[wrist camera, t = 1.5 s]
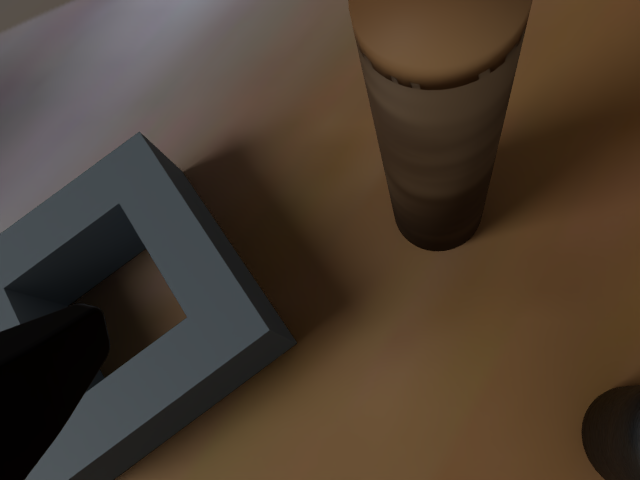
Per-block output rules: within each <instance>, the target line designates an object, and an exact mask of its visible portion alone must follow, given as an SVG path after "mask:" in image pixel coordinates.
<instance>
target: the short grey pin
mask: <svg viewBox="0 0 640 480" xmlns="http://www.w3.org/2000/svg"><path fill="white" fill-rule="evenodd" d="M582 441H583V446H584V449H585V452H586V455H587V457H588V459H589V461H590V462H591V464H592V466H593V467H594V468H595V470H596V471H597V472H598V473H599V474H600V475H601V476H602V477H603V478H604V479H605V480H640V385H634V386H626V387H619V388H615V389H611V390H609V391H607V392H604V393H603V394H601V395H600V396H598V397H597V398H596V399H595V400H594V401H593V402H592V403H591V405H590V406H589V408H588V409H587V411H586V413H585V416H584V419H583V423H582Z"/></svg>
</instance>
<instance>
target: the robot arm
mask: <svg viewBox="0 0 640 480" xmlns="http://www.w3.org/2000/svg"><path fill="white" fill-rule="evenodd" d="M109 350H110V341H109V336H108V331H107V326H106V322H105V317H104V313H103V312H102V310H101V309H100V308H98V307H95V306H91V305H86V304H80V303H79V304H74V305H72V306H69V307H66V308H64V309H61V310H58V311H55V312H53V313H50V314H47V315H44V316H42V317H39V318H36V319H33V320H31V321H28V322H25V323H22V324H20V325H17V326H14V327H12V328H9V329H6V330H3V331H1V332H0V480H25V479H26V477H27V476H28V475H29V473H30V472H31V471H32V469H33V468H34V467H35V465H36V464H37V463H38V461H39V460H40V459H41V458H42V456H43V455H44V454H45V452H46V451H47V450H48V448H49V447H50V446H51V444H52V443H53V442H54V440H55V439H56V437H57V436H58V435H59V433H60V432H61V430H62V429H63V427H64V426H65V424H66V423H67V421H68V420H69V418H70V417H71V415H72V413H73V412H74V410H75V409H76V407H77V405H78V404H79V402H80V400H81V399H82V397H83V396H84V394H85V392H86V391H87V389H88V387H89V386H90V384H91V383H92V381H93V379H94V378H95V376H96V374H97V373H98V371H99V370H100V368H101V366H102V365H103V363H104V361H105V360H106V358H107V356H108V353H109Z"/></svg>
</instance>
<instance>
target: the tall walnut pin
mask: <svg viewBox="0 0 640 480" xmlns="http://www.w3.org/2000/svg"><path fill="white" fill-rule="evenodd" d="M348 1H349V11H350V16H351V20H352V25H353V29H354V34H355V38H356V43H357V47H358V52H359V57H360V61H361V66H362V70H363V75H364V79H365V84H366V88H367V93H368V98H369V102H370V107H371V111H372V116H373V120H374V125H375V129H376V134H377V139H378V143H379V148H380V152H381V157H382V161H383V166H384V170H385V175H386V180H387V184H388V189H389V193H390V198H391V202H392V207H393V211H394V216H395V221H396V224H397V226H398V228H399V230H400V232H401V233H402V235H403V236H404V237H405V238H406V239H407V240H408V241H409V242H411V243H412V244H414V245H415V246H417V247H420V248H422V249H425V250H430V251H445V250H450V249H453V248H456V247H458V246H460V245H462V244H463V243H465V242H466V241H467V240H468V239H470V238H471V236H472V235H473V234H474V233H475V231H476V230H477V228H478V226H479V223H480V220H481V217H482V212H483V208H484V204H485V200H486V195H487V191H488V187H489V183H490V178H491V174H492V170H493V166H494V161H495V157H496V153H497V149H498V144H499V140H500V136H501V132H502V127H503V123H504V119H505V115H506V110H507V106H508V102H509V97H510V93H511V89H512V85H513V80H514V76H515V72H516V68H517V63H518V59H519V55H520V51H521V46H522V42H523V38H524V34H525V29H526V25H527V21H528V17H529V12H530V8H531V4H532V0H348Z"/></svg>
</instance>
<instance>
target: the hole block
mask: <svg viewBox="0 0 640 480" xmlns="http://www.w3.org/2000/svg"><path fill="white" fill-rule="evenodd" d="M144 249H147V251H148V252H149V254H150V256H151V257H152V259H153V261H154V262H155V264H156V266H157V267H158V269H159V271H160V272H161V274H162V276H163V277H164V279H165V281H166V282H167V284H168V286H169V287H170V289H171V291H172V292H173V294H174V296H175V297H176V299H177V301H178V302H179V304H180V306H181V307H182V309H183V311H184V313H185V314H186V316H187V318H186V319H184V320H183V321H182V322H180V323H179V324H178V325H176V326H175V327H173V328H172V329H171V330H169V331H168V332H167V333H165V334H164V335H163V336H161V337H160V338H159V339H157V340H156V341H155V342H153V343H152V344H151V345H149V346H148V347H146V348H145V349H144V350H142V351H141V352H140V353H138V354H137V355H136V356H134V357H133V358H132V359H130V360H129V361H128V362H126V363H125V364H124V365H122V366H121V367H119V368H118V369H117V370H115V371H114V372H113V373H111V374H110V375H109V376H107V377H106V378H104V376H103V374H102V372H101V370H99V371H98V373H97V374H96V376H95V378H94V379H93V381H92V383H91V384H90V386H89V387H88V389H87V391H86V392H85V394H84V396H83V397H82V399H81V400H80V402H79V404H78V405H77V407H76V409H75V410H74V412H73V413H72V415H71V417H70V418H69V420H68V421H67V423H66V424H65V426H64V427H63V429H62V430H61V432H60V433H59V435H58V436H57V437H56V439H55V440H54V442H53V443H52V444H51V446H50V447H49V448H48V450H47V451H46V452H45V454H44V455H43V456H42V458H41V459H40V460H39V461H38V463H37V464H36V465H35V467H34V468H33V469H32V471H31V472H30V473H29V475H28V476H27V477H26V479H25V480H114V479H115V478H116V477H118V476H119V475H120V474H122V473H123V472H125V471H126V470H127V469H129V468H130V467H131V466H133V465H134V464H135V463H137V462H138V461H139V460H141V459H142V458H143V457H145V456H146V455H147V454H149V453H150V452H151V451H153V450H154V449H155V448H157V447H158V446H159V445H161V444H162V443H164V442H165V441H166V440H168V439H169V438H170V437H172V436H173V435H174V434H176V433H177V432H178V431H180V430H181V429H182V428H184V427H185V426H186V425H188V424H189V423H190V422H192V421H193V420H194V419H196V418H197V417H198V416H200V415H201V414H203V413H204V412H205V411H207V410H208V409H209V408H211V407H212V406H213V405H215V404H216V403H217V402H219V401H220V400H221V399H223V398H224V397H225V396H227V395H228V394H229V393H231V392H232V391H233V390H235V389H236V388H237V387H239V386H240V385H242V384H243V383H244V382H246V381H247V380H248V379H250V378H251V377H252V376H254V375H255V374H256V373H258V372H259V371H260V370H262V369H263V368H264V367H266V366H267V365H268V364H270V363H271V362H272V361H274V360H275V359H276V358H278V357H279V356H281V355H282V354H283V353H285V352H286V351H287V350H289V349H290V348H291V347H293V346H294V345H295V344H297V342H296V341H295V339H294V338H293V336H292V335H291V333H290V332H289V330H288V329H287V327H286V326H285V324H284V323H283V321H282V320H281V318H280V317H279V315H278V314H277V312H276V311H275V309H274V308H273V306H272V305H271V303H270V302H269V300H268V299H267V297H266V296H265V294H264V293H263V291H262V290H261V288H260V287H259V285H258V284H257V282H256V281H255V279H254V278H253V276H252V275H251V273H250V272H249V270H248V269H247V267H246V266H245V264H244V263H243V261H242V260H241V258H240V257H239V256H238V254H237V253H236V251H235V250H234V248H233V247H232V245H231V244H230V242H229V241H228V239H227V238H226V236H225V235H224V233H223V232H222V230H221V229H220V227H219V226H218V224H217V223H216V221H215V220H214V218H213V217H212V215H211V214H210V212H209V211H208V209H207V208H206V206H205V205H204V203H203V202H202V200H201V199H200V197H199V196H198V194H197V193H196V191H195V190H194V188H193V187H192V185H191V184H190V182H189V181H188V179H187V178H186V176H185V175H184V173H183V172H182V171H181V170H180V169H179V168H178V167H177V166H176V165H175V164H174V163H173V162H171V161H170V160H169V159H168V158H167V157H166V156H165V155H164V154H163V153H162V152H161V151H160V150H159V149H158V148H156V147H155V146H154V145H153V144H152V143H151V142H150V141H149V140H148V139H147V138H146V137H145V136H144V135H142V134H141V133H140V132H138V133H137V134H135V135H134V136H133V137H131V138H130V139H129V140H127V141H126V142H125V143H123V144H122V145H120V146H119V147H118V148H116V149H115V150H114V151H112V152H111V153H110V154H108V155H107V156H105V157H104V158H103V159H101V160H100V161H99V162H97V163H96V164H95V165H93V166H92V167H91V168H89V169H88V170H86V171H85V172H84V173H82V174H81V175H80V176H78V177H77V178H76V179H74V180H73V181H71V182H70V183H69V184H67V185H66V186H65V187H63V188H62V189H61V190H59V191H58V192H56V193H55V194H54V195H52V196H51V197H50V198H48V199H47V200H46V201H44V202H43V203H42V204H40V205H39V206H37V207H36V208H35V209H33V210H32V211H31V212H29V213H28V214H27V215H25V216H24V217H22V218H21V219H20V220H18V221H17V222H16V223H14V224H13V225H12V226H10V227H9V228H7V229H6V230H5V231H3V232H2V233H1V234H0V332H1V331H3V330H6V329H9V328H12V327H14V326H17V325H20V324H22V323H25V322H28V321H31V320H33V319H36V318H39V317H42V316H44V315H47V314H50V313H53V312H55V311H58V310H61V309H64V308H66V307H68V306H69V305H70V304H71V303H73V302H74V301H75V300H77V299H78V298H79V297H81V296H82V295H83V294H85V293H86V292H88V291H89V290H90V289H92V288H93V287H94V286H96V285H97V284H98V283H100V282H101V281H102V280H104V279H105V278H106V277H108V276H109V275H111V274H112V273H113V272H115V271H116V270H117V269H119V268H120V267H121V266H123V265H124V264H125V263H127V262H128V261H130V260H131V259H132V258H134V257H135V256H136V255H138V254H139V253H140V252H142V251H143V250H144Z"/></svg>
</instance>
